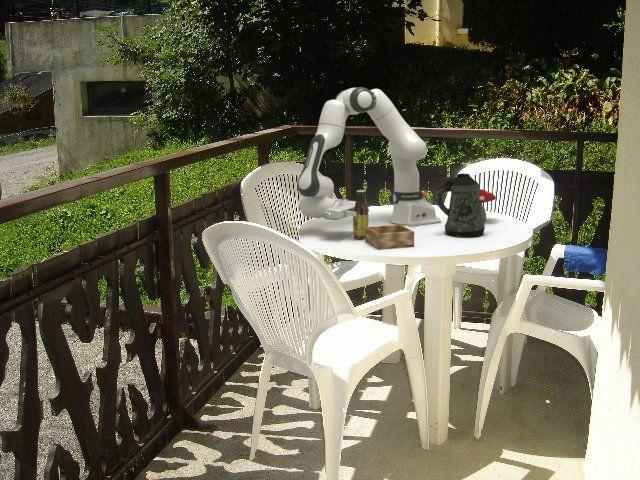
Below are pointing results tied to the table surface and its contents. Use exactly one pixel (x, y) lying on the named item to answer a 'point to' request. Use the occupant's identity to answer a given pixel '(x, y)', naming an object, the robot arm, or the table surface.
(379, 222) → the table surface
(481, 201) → the decorative mushroom
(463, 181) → the beer stein
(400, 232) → the crate
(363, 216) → the sauce bottle
